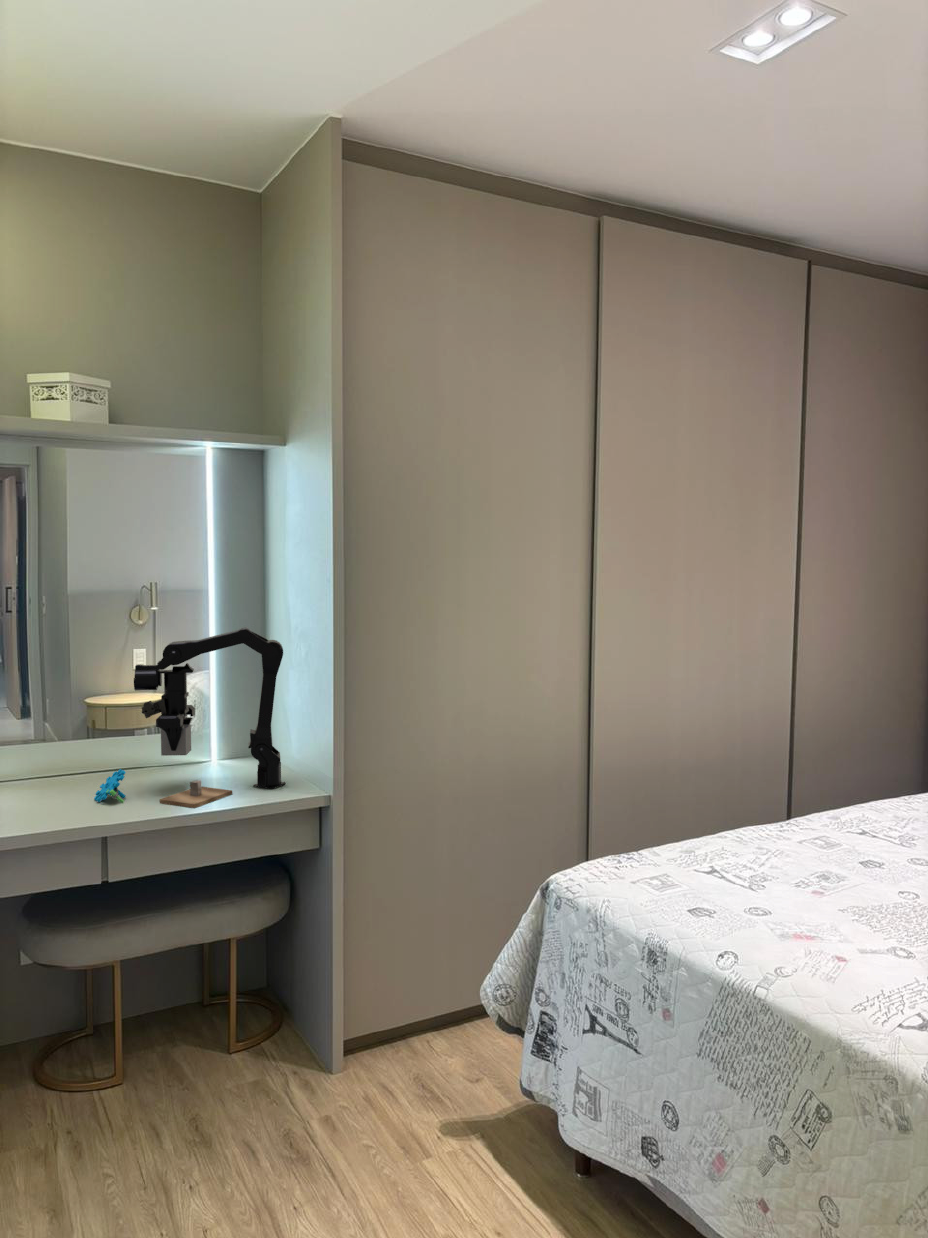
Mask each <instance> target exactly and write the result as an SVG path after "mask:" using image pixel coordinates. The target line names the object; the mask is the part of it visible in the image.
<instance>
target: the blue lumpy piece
mask: <svg viewBox="0 0 928 1238" xmlns="http://www.w3.org/2000/svg"><path fill="white" fill-rule="evenodd" d="M125 774H126V771H125V770H124V769H121V768H119V769H118V770H117V771H114V772H113V773H112V775H111V776H108V777H107V778H106V782H105V783H104V782H103V783H102V784H101V785H100V786H99V788H100V790H97V791H96V792H95V794H94V795H95V796H94V798H93V799H94V801H96V802H97V803H101V802H102V801H105V800H106V799H107V797H108V796H110V797H111V798H112V799H113V800H115V799H116V800H117V801H119V802H120V803H121V804H123V803H124V802H125V800H124V799H125V798H126V795H125V794H124V793H123V792H122V791H120V789H118V788H119V787H120V785H121V782H120V781H123V780H124V779H125ZM123 798H124V799H123Z"/></svg>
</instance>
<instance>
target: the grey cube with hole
mask: <svg viewBox="0 0 928 1238" xmlns="http://www.w3.org/2000/svg"><path fill="white" fill-rule="evenodd" d="M191 751H192V724H191V723H190V725H184V728H183V731H182V734H181V737H180V740H179V743H178V746H177V748H176V750H175V751H172V750H171V747H170V744H169V741H168V737H167V734H166V732H165V731H164V730H162V729H160V753H161V754H160V755H161V756H163V757H164V756H187V755H188V754H189V753H190V752H191Z"/></svg>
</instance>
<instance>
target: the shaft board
mask: <svg viewBox="0 0 928 1238" xmlns="http://www.w3.org/2000/svg"><path fill="white" fill-rule="evenodd" d="M231 795H233V790H231V789H225V788H224V789H223V788H218V787H217V788H216V787H208V786H202V780H200V779H199V780H198V779H197V780H192V781H189V788H188V789H186V790H183V791H179V792H177V793H174V794H171V795H169V796H165V797H162V798H160V799H159V804H162V805H163V804H165V805H169V806H177V807H185V808H191V809H196V808H198V807H201V806H205V805H207V804H209V803H212V802H215V801H218V800H221V799H223V798H224V799H225V798H226V797H229V796H231Z"/></svg>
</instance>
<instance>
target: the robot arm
mask: <svg viewBox="0 0 928 1238" xmlns="http://www.w3.org/2000/svg"><path fill="white" fill-rule="evenodd" d="M241 644H243V645H245V646H247V647H248V648H251V650H253V651H255V652H257V653H258V654H260V655H261V663H262V682H261V691H260V697H259V698H260V700H259V708H258V717H257V724H256V728H255V729H250V731H249V737H250V739H249V741H248V747H247V748H248V749H250V754H251V756H252V757H253V759H255V760H257V761H258V764H257V771H256V772H257V773H256V775H257V777H256V778H257V779H256V781H257V782H256V783H254V784H253V785H252V787H254V788H260V789H267V790H269V789H270V790H275V789H278V788H279V787H281V786H284V785H286V783H287V782H285V781H282V771H281V770H282V762H281V752H280V750H278V749H277V748H275V746H273V735H272V720H273V712H274V711H273V710H274V701H275V693H276V692H275V691H276V685H277V684H276V683H277V676H278V672H279V669H280V667H281V663H282V660H283V656H284V648H283V645H282V644H281V642H280V641H278V640H275V639H267V638H265V637H264V636H262V635H259V634H257V633H256V632H254V631H252V630H251V629H250V628H248V627H241V628H239V629H236V630H232V631H229V632H225V633H221V634H217V635H213V636H208V637H204V638H201V639H196V640H195V639H194V640H193V639H192V640H178V641H177V640H176V641H172V642H170V643H168V644H167V645H166V646H165V647H164V649H163V651H162V658H161V659H160V660H159V661H158V662H157V664H142V663H141V664H136V665H134V666H135V667H134V668H135V669H134V677H133V689H134V691H140V692H141V691H158V689H159V687H162V686H163V684H164V686H163V688H164V690H163V692H164V693H163V694H162V695H161V697H160V698H161V699H158V700H155V701H152V700H149V701H146V702H143V706H142V707H141V714H142V715H144V717H145V719H149V718H151V717H152V716H154V715H157V714H159V713H160V715H159V716H158V717H156V719H155V728H159V729H160V730H161V729H162V730H164V731H165V732H166V734H167V737H168V741H169V744H170V747H171V750H172V751H175V750H176V748H177V746H178V743H179V740H180V737H181V734H182V731H183V728H184V725H190V724H191V723H192V721H193V717H194V716H195V715H196V708H195V706H193V705H192V704H188V697H189V696H190V695H189V694H190V693H189V692H190V691H188V689H187V688H188V687H187V686H188V685H187V683H188V682H187V681H188V680H187V679H188V676H187V674H193V672H194V671H195V669H194V668H193V667H192V666H190V663H188V662H187V661H190V660H191V659H193V658H195V657H198V656H199V655H203V654H206V653H211V652H214V651H218V650H223V649H225V648H231V647H233V646H237V645H241ZM185 662H186V664H185V665H182V666H181V665H180V664H183V663H185ZM170 666H172V669H167V668H168V667H170ZM188 715H189V716H190V717H188Z"/></svg>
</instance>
